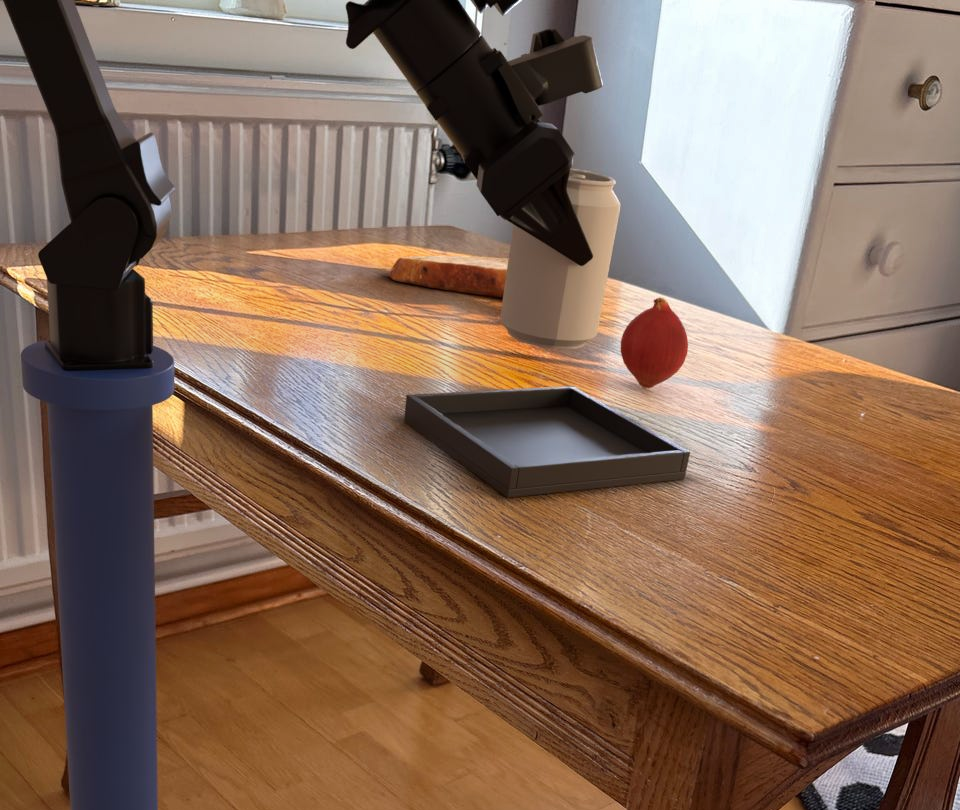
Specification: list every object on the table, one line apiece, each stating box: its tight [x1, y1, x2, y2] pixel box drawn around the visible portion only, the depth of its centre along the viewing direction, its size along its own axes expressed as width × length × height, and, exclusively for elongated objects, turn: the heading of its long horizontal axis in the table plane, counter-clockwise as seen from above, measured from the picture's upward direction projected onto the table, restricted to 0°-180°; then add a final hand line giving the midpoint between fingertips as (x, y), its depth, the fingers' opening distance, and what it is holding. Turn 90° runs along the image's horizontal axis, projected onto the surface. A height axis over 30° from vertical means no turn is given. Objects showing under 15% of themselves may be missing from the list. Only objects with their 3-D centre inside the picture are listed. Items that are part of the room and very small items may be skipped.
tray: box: [403, 385, 691, 499], centre depth 86 cm, size 15×15×2 cm
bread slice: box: [388, 255, 509, 298], centre depth 131 cm, size 18×18×4 cm
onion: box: [620, 296, 689, 390], centre depth 103 cm, size 6×6×8 cm
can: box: [499, 168, 622, 350], centre depth 86 cm, size 8×8×12 cm
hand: (579, 250), depth 86 cm, fingers closed on can, 7 cm apart
